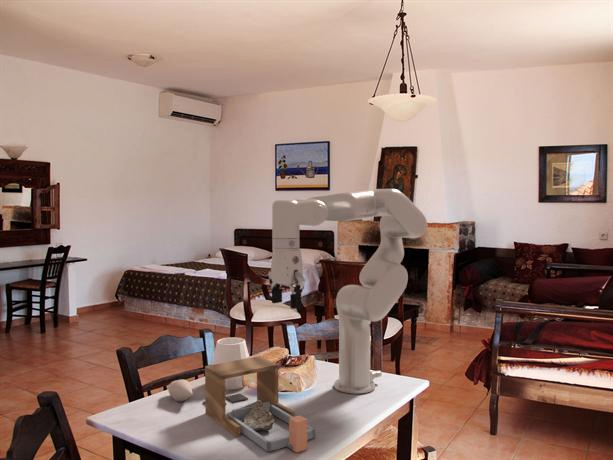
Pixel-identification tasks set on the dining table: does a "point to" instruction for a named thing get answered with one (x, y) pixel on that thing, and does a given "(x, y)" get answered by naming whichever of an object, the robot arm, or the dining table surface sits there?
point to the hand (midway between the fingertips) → (286, 305)
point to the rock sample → (259, 418)
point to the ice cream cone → (180, 390)
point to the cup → (230, 357)
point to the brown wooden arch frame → (216, 393)
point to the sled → (294, 440)
